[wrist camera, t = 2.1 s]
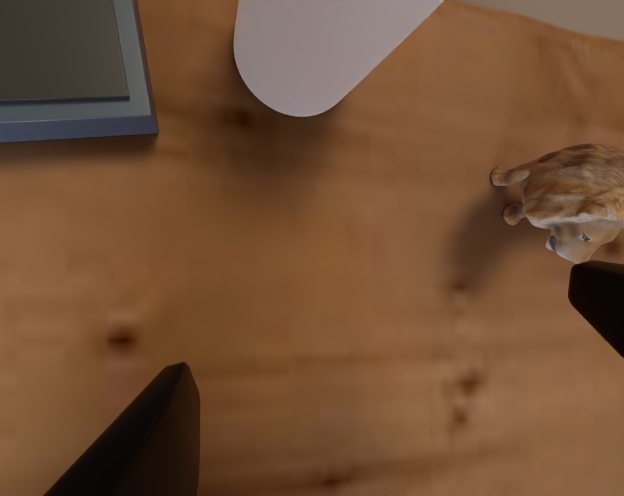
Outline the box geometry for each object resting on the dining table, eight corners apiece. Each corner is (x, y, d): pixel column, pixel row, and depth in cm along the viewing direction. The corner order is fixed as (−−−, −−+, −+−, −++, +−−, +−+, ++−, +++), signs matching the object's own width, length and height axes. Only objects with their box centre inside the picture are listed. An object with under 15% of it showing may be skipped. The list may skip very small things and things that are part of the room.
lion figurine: (462, 262, 23) (622, 280, 14) (443, 179, 22) (598, 144, 13) (623, 201, 27) (825, 186, 18) (611, 129, 26) (814, 77, 17)
